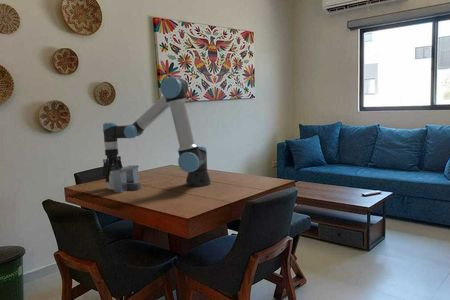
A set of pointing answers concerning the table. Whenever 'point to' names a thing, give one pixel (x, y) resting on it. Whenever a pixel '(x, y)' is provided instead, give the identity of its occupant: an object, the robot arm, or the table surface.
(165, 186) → the table surface
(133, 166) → the housing
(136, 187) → the plug
